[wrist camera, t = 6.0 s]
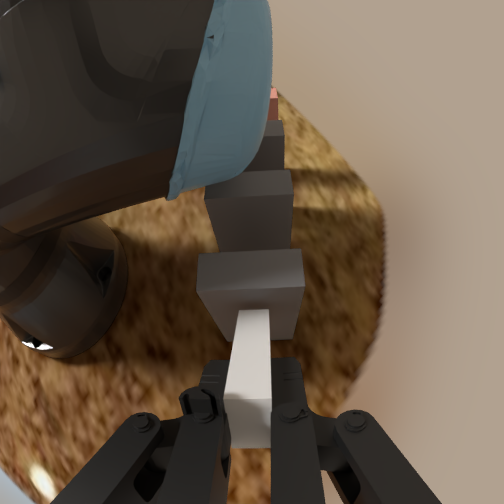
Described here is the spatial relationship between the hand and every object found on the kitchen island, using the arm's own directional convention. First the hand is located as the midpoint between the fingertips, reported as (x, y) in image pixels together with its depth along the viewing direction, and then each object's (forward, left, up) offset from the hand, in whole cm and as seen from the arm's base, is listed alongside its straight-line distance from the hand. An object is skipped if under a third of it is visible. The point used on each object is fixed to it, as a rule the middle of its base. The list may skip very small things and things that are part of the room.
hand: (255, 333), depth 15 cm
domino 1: (+2, +2, -7) cm, 8 cm away
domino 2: (+5, +6, -7) cm, 11 cm away
